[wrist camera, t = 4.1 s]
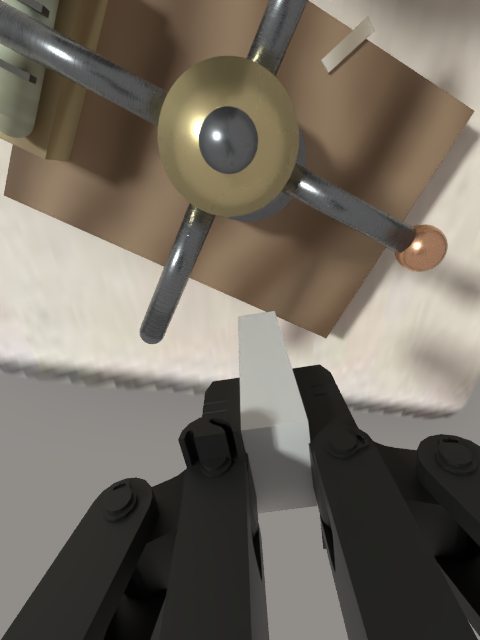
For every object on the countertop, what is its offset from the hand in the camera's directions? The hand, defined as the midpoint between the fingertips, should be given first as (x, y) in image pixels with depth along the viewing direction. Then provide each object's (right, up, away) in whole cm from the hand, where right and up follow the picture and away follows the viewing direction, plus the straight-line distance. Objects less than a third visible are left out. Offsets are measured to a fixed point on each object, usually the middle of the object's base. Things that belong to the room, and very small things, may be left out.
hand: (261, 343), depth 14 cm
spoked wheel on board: (-2, +13, +10) cm, 16 cm away
